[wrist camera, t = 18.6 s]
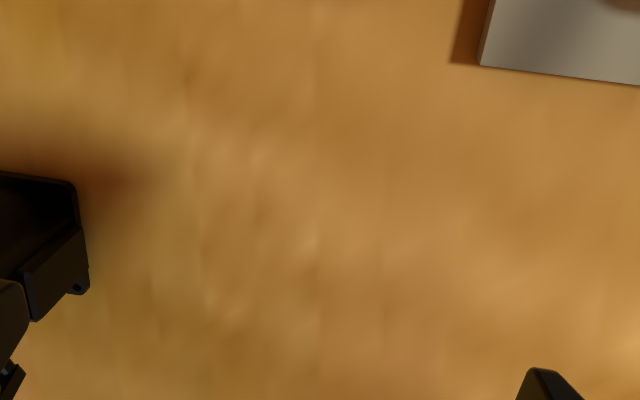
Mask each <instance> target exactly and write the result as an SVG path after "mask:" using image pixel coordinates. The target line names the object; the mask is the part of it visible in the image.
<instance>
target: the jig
mask: <svg viewBox="0 0 640 400" xmlns="http://www.w3.org/2000/svg"><path fill="white" fill-rule="evenodd" d="M475 60H476V61H477V62H478V63H479V64H480V65H484V66H492V67H499V68H507V69H515V70H523V71H531V72H538V73H546V74H554V75H562V76H570V77H577V78H585V79H593V80H601V81H609V82H616V83H624V84H632V85H640V0H490V3H489V7H488V11H487V15H486V19H485V23H484V27H483V31H482V35H481V39H480V43H479V47H478V51H477V55H476V59H475Z"/></svg>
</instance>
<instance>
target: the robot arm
mask: <svg viewBox="0 0 640 400" xmlns="http://www.w3.org/2000/svg"><path fill="white" fill-rule="evenodd" d="M61 189H62V190H64V191H65V192H66V194H64V193H63V192H62V191H61ZM88 269H89V265H88V258H87V251H86V244H85V238H84V231H83V228H82V226H81V220H80V213H79V206H78V200H77V193H76V189H75V187H74V186H73V185H72V184H71V183H70V182H67V181H64V180H57V179H51V178H44V177H37V176H31V175H24V174H17V173H11V172H4V171H0V400H13V398H14V396H15V394H16V392H17V390H18V388H19V387H20V385H21V383H22V381H23V379H24V377H25V375H26V373H25V372H24V370H23V369H22V368H21V367H20V366H19V365H18V364H14V363H13V361H12V360H11V359H10V357H11V355H12V353H13V352H14V350H15V349H16V347H17V345H18V344H19V342H20V340H21V339H22V337H23V335H24V334H25V332H26V330H27V328H28V325H29V322H38V321H39V320H41V319H42V318H43V317H44V316H45V315H46V314H47V313H48V312H49V311H50V310H51V308H52V307H53V306H54V305H55V304H56V303H57V302H58V301H59V300H60V299H61V298H62V297H63V296H64V295H65V293H68V294H74V295H83V294H85V292H86V291H87V290H88V289H89V288H90V280H89V273H88ZM78 284H79V285H80V286H79V285H78ZM515 400H585V399H584V398H583V397H582V396H581V395H580V394H579V393H578V392H577V391H576V390H575V389H574V388H573V387H572V386H571V385H570V384H569V383H568V382H567V381H566V380H565V379H564V378H563V377H562V376H561V375H560V374H559V373H558V372H556V371H553V370H549V369H543V368H537V367H533V368H530V369H529V370H528V371H527V373H526V375H525V378H524V380H523V383H522V385H521V387H520V390H519V392H518V394H517V397H516V399H515Z"/></svg>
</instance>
